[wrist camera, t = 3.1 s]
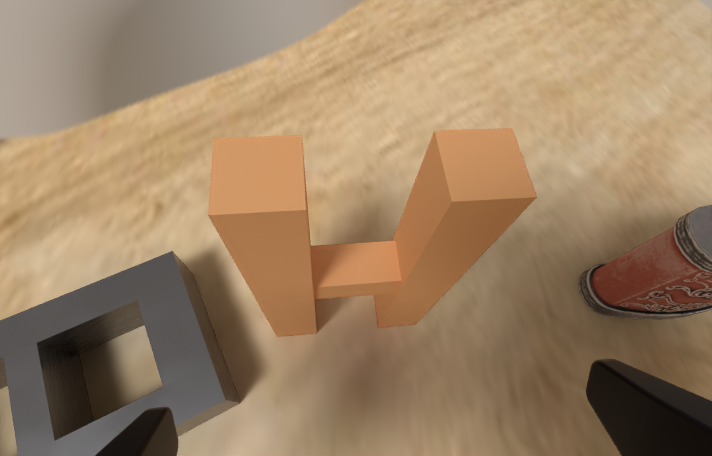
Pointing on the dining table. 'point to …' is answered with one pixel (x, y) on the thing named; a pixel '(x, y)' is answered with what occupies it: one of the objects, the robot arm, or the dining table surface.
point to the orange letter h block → (371, 259)
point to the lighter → (657, 274)
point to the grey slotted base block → (95, 326)
